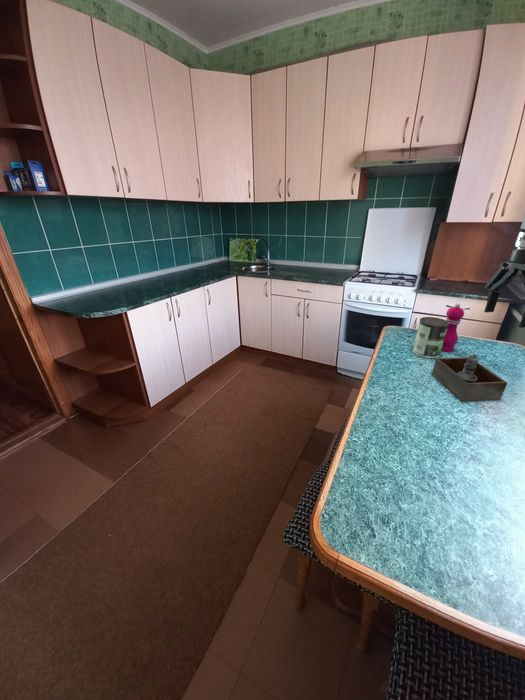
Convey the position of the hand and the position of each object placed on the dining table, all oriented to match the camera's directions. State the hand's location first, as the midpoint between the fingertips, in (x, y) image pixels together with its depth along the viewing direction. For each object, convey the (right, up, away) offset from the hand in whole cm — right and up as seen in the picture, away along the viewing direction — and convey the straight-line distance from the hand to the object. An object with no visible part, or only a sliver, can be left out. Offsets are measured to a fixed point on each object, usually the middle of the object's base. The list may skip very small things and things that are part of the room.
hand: (505, 319), depth 91 cm
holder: (-8, -22, +8) cm, 25 cm away
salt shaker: (-8, -22, +8) cm, 24 cm away
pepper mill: (+2, -9, +33) cm, 35 cm away
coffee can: (-8, -11, +30) cm, 33 cm away
